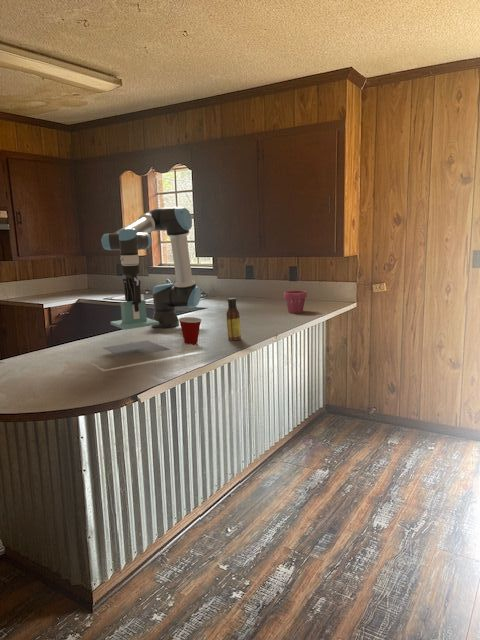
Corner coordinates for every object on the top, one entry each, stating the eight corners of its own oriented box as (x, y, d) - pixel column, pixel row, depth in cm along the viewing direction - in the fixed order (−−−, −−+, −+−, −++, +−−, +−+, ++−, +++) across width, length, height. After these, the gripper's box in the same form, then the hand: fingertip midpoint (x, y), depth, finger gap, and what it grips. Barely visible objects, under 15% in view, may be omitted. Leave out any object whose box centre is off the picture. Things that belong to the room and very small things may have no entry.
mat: (102, 349, 221) (102, 347, 221) (147, 342, 234) (147, 340, 234) (123, 359, 202) (122, 357, 202) (170, 351, 215) (170, 349, 215)
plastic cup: (199, 346, 221) (198, 320, 219) (176, 346, 223) (175, 320, 221) (205, 341, 232) (204, 316, 229) (184, 341, 234) (182, 316, 232)
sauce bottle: (242, 338, 236) (241, 297, 232) (238, 341, 230) (237, 299, 226) (230, 337, 238) (228, 297, 234) (225, 340, 232) (224, 299, 229)
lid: (110, 324, 218) (108, 301, 216) (143, 319, 227) (142, 297, 225) (124, 329, 205) (122, 305, 203) (159, 324, 214) (157, 301, 212)
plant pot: (282, 310, 314) (281, 290, 311) (303, 309, 315) (303, 289, 313) (286, 314, 300) (286, 293, 297) (309, 313, 301) (309, 292, 299)
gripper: (114, 264, 216) (118, 316, 221) (129, 266, 202) (134, 322, 207) (130, 263, 220) (134, 314, 225) (146, 265, 207) (150, 319, 211)
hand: (134, 317), depth 216 cm, fingers closed on lid, 4 cm apart
